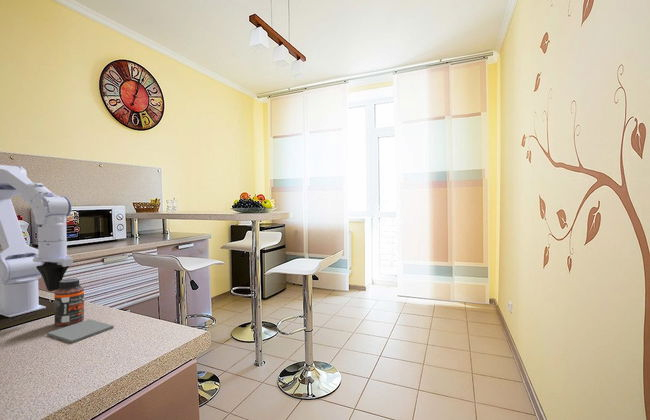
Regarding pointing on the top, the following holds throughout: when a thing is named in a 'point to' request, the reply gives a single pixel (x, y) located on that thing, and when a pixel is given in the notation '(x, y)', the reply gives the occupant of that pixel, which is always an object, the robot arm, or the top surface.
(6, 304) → the robot arm
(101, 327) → the mat
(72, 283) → the supplement bottle
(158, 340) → the top surface
